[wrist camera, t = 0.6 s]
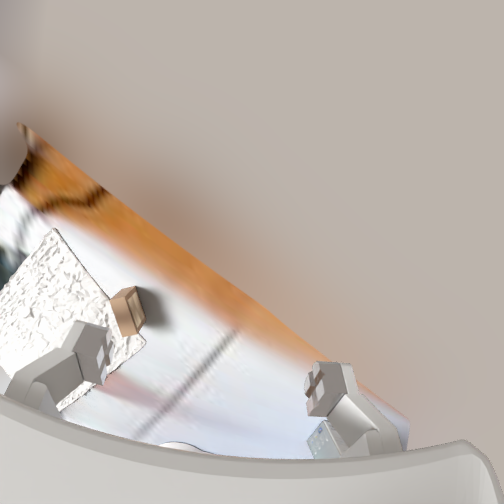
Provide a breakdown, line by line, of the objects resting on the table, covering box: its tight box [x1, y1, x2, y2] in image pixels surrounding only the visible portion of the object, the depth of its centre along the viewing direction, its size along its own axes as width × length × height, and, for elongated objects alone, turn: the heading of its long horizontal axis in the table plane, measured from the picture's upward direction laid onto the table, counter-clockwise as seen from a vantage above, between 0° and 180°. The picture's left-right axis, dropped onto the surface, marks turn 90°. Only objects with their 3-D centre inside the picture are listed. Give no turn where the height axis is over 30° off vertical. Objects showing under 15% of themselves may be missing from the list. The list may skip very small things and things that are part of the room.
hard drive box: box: [307, 421, 349, 459], centre depth 59 cm, size 16×8×20 cm, turn 60°
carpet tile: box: [0, 228, 146, 412], centre depth 58 cm, size 39×30×2 cm
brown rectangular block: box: [109, 286, 146, 337], centre depth 55 cm, size 7×3×8 cm, turn 13°
